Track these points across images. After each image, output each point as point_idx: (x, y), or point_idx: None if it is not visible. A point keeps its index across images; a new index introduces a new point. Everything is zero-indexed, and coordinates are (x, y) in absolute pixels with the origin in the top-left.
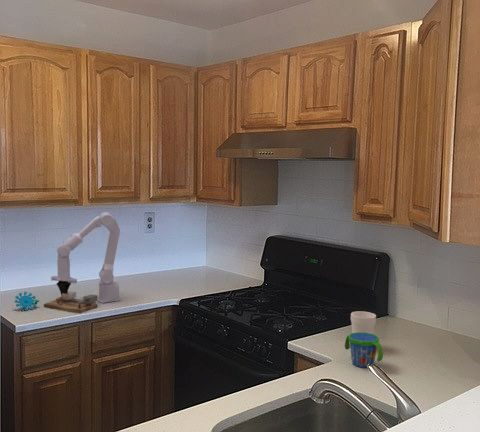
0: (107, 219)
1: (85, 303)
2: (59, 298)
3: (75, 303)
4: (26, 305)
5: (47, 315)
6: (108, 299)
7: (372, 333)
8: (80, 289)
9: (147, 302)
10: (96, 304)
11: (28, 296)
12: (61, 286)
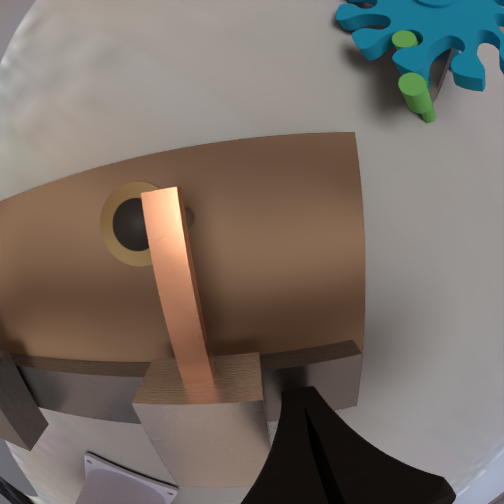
0: None
1: (22, 360)
2: (151, 246)
3: (96, 352)
4: None
5: (90, 18)
6: (86, 479)
7: None
8: None
9: (27, 475)
10: None
11: (482, 25)
12: (308, 497)
